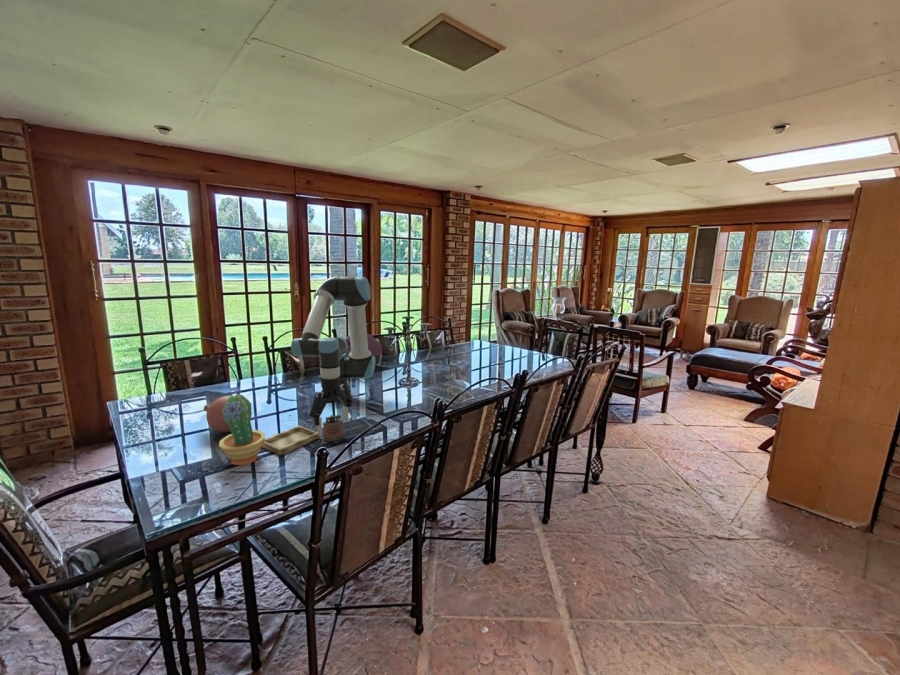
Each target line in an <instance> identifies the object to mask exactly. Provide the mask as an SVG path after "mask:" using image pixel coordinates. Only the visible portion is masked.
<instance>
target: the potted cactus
mask: <svg viewBox="0 0 900 675" xmlns="http://www.w3.org/2000/svg"><path fill="white" fill-rule="evenodd" d="M229 396H230V397H229V398H228V400H227V402H226V404H225V405H224V407H223V409H222V411H223V412H222V413H223V416H224V420H225V422H226V423H227V425H228V426H229V428H230V430H231V432H230V433H231V434H228V435H226V436H225V437H223V438H222V439H220V440H219V442H218V443H219V444H218V447H219V449H220V450H222V451H223V453H224V454H225V456H226V457H227V458H229V460H231V461H230V463H231V464H233V466H243V465H249V464H251V463H253V462H255V461H256V460H257V459H258V457H259V455H258V454H259V453H260V451H261V448H262V447H261V446H262V443H263V442H264V440H265V439H266V433H265V432H263V431H261V430H253V428H252V423H251V419H252V403H251V401H250V400H249V399H248V398H246V396H244V395H243V393H242V394H238V393H236V394H235V395H233V394H231V395H229Z"/></svg>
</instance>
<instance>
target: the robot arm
mask: <svg viewBox="0 0 900 675" xmlns="http://www.w3.org/2000/svg"><path fill="white" fill-rule="evenodd" d="M371 291H372V290H371V285H370V283H369V280H368V278H366V277H365V276H358V275H349V276H348V275H342V276H339V275H335V276H334V275H333V276H330V277H328V278H327V279H325V280H324V281H323V282H321V283H320V285H319V286H318V287H317V288H316V290H315V292H314V293H313V294H314V295H313V300H314V301H313V304H312V305H311V309H310V311H309V313H308V316H307V320H306V322H305V325H304V327H303V330H302V332H301V335H300V337H297V338H293V339H292V341H291V344H290V352H291V353H292V355H293V356H295V357H303V358H304V357H319V369H320V370H319V371H320V372H319V373H320V377H321V378H320V387H321V389H322V390H321V391H315V393H314V400H313V402H312V407H311V410H310V412H309V415H308V416H309V417H310V418H312V419H313V420H314V421H313V422H314V425H315V429H316V430H315V431H316V432H318V433H319V434H322V433H323V422H322V421H323V419H322V418H323V417H321V415H322V413H323V412H324V409H325V407H326V406H327V404H328V403H329V402H340V403H342V408H341V409H342V420H343V422H345V423H346V422H347V423H348V422H350V421H349V420H350V418H349V414H350V408H351V407H352V404H354V401H353V399H352V391H351V388H350V385H349V383H348V379H362V380H365V379H370V378H373V375H374V373H375V369H376V356H372V354H371V352H370V351H369V350H368V341H367V333H368V331H367V328H368V327H367V318H366V317H367V315H366V306H367V305H368V303H369V301H370V300H371V298H372V296H371V295H372V294H371V293H372V292H371ZM335 301H343V306H345V307H346V308H347V317H348V319H347V320H348V329H349V330H348V331H349V336H350V342H351V352H350V353H349V356H346V353H345V352H346V350H347V348H348V344H347V341H346V340H345V338H344V337H341V336H337V337H324V338H320V337H321V334H322V332H323V329H324V326H325V323H326V321H327V317H328V314H329V311H330V308H331V306H332V305H334V303H335Z"/></svg>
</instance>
